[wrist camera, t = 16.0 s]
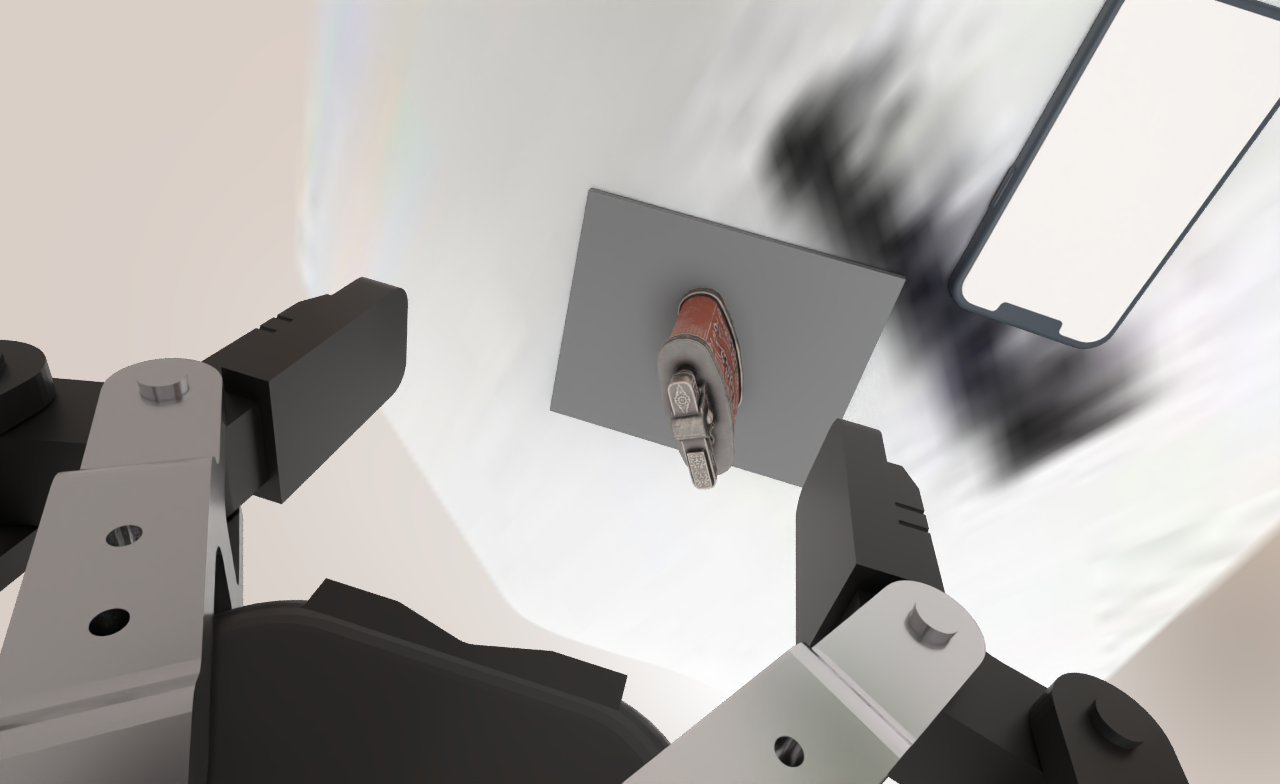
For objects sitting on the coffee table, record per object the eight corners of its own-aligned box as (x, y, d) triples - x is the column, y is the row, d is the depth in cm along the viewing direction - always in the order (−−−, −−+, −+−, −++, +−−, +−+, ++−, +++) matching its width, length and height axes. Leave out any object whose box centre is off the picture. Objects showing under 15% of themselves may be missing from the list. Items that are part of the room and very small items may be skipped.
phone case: (1118, -37, 29) (935, 292, 37) (1135, -41, 27) (941, 302, 35) (1317, 27, 29) (1089, 346, 37) (1344, 26, 27) (1101, 358, 35)
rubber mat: (591, 188, 38) (588, 190, 37) (904, 275, 36) (905, 279, 36) (552, 405, 45) (549, 410, 45) (809, 484, 44) (809, 489, 44)
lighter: (669, 292, 39) (634, 368, 30) (726, 281, 38) (706, 357, 29) (699, 410, 42) (674, 508, 34) (752, 403, 41) (740, 502, 33)
